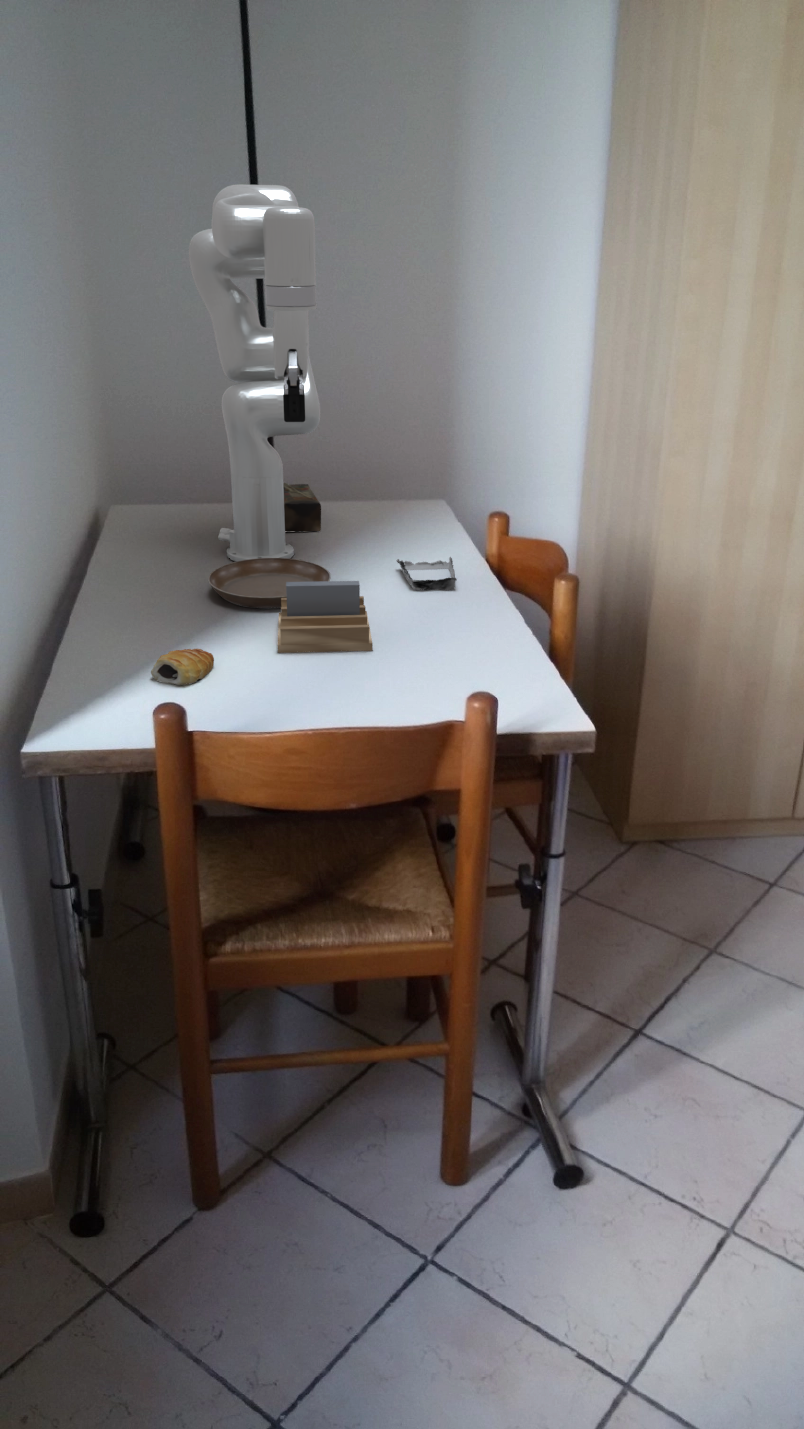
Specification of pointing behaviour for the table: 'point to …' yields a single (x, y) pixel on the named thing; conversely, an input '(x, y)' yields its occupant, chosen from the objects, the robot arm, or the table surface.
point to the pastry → (183, 666)
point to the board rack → (323, 632)
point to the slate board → (323, 598)
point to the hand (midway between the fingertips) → (294, 416)
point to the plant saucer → (263, 580)
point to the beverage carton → (301, 508)
